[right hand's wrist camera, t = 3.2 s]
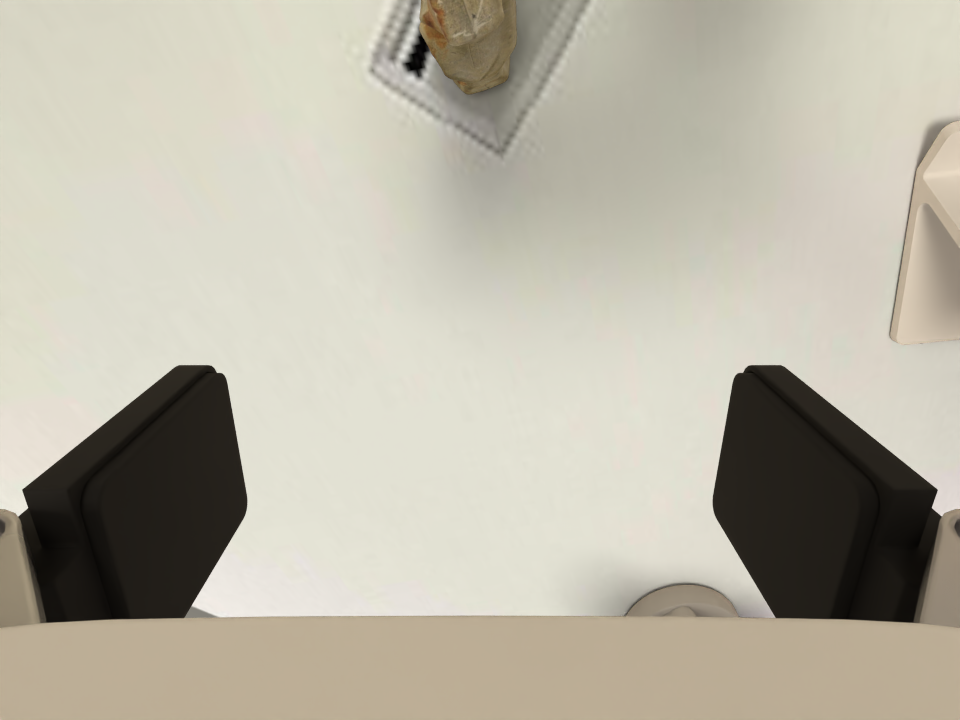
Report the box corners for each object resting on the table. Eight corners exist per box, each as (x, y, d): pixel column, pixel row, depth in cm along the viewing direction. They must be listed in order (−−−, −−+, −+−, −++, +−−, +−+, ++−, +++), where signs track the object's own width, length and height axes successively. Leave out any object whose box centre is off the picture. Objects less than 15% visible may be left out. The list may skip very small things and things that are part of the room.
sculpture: (495, -29, 42) (503, -106, 28) (522, 79, 44) (541, 59, 30) (416, -2, 42) (385, -63, 28) (447, 104, 45) (433, 95, 31)
